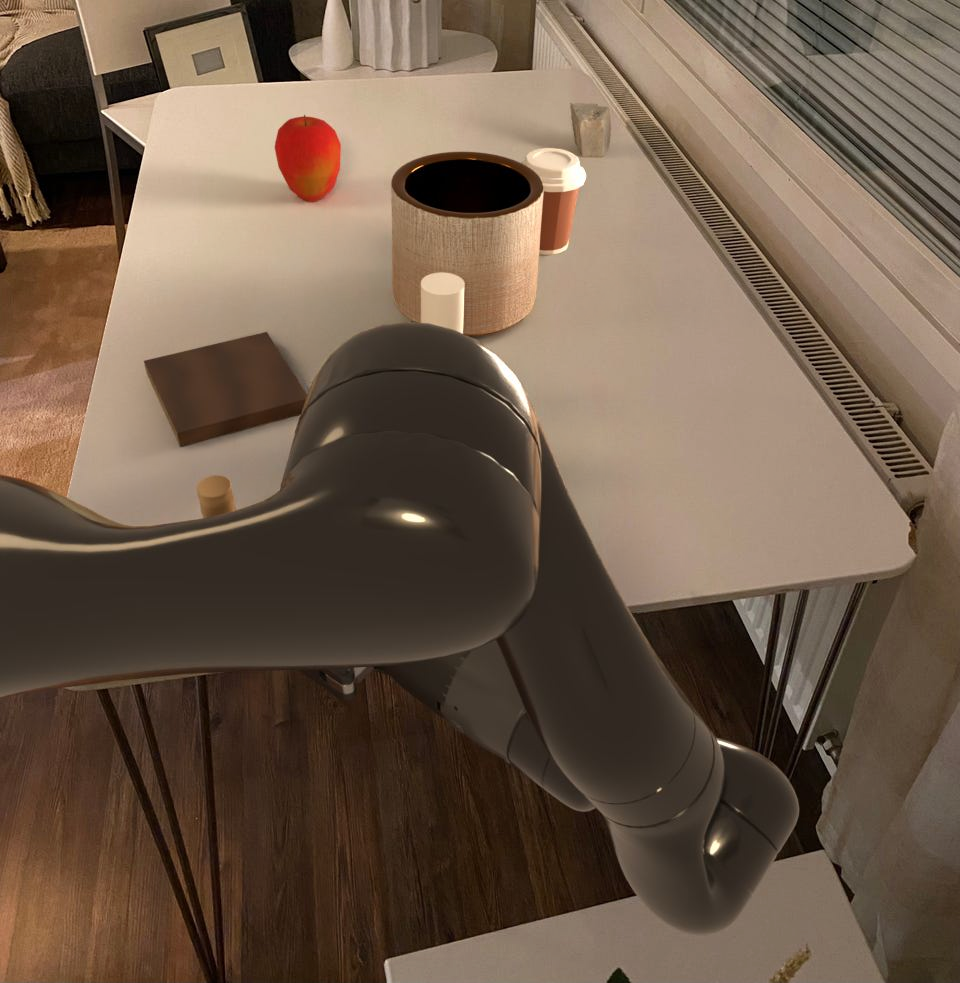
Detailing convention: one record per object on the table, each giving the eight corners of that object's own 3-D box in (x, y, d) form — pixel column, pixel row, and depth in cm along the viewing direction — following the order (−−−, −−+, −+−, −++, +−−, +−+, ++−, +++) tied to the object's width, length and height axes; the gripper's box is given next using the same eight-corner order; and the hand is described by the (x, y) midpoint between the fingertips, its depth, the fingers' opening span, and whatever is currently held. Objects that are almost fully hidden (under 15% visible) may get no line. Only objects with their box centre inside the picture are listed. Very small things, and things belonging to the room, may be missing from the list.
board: (180, 447, 98) (177, 433, 97) (146, 373, 107) (143, 360, 106) (311, 411, 103) (309, 397, 102) (268, 344, 112) (266, 331, 111)
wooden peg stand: (216, 626, 81) (191, 514, 72) (200, 588, 84) (174, 476, 75) (271, 607, 83) (253, 495, 74) (254, 570, 86) (234, 459, 77)
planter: (436, 356, 112) (437, 231, 101) (368, 285, 123) (363, 166, 112) (562, 318, 119) (576, 197, 108) (488, 254, 130) (493, 139, 119)
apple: (356, 197, 141) (352, 115, 133) (308, 217, 136) (300, 132, 128) (315, 177, 145) (309, 96, 137) (267, 195, 140) (257, 112, 132)
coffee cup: (588, 238, 134) (598, 153, 126) (561, 266, 128) (570, 179, 120) (528, 222, 137) (535, 138, 129) (500, 248, 131) (505, 163, 123)
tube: (447, 423, 102) (449, 299, 92) (413, 409, 104) (412, 286, 94) (468, 402, 105) (472, 280, 95) (435, 389, 107) (436, 268, 97)
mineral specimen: (554, 140, 157) (569, 90, 152) (604, 151, 159) (620, 102, 154) (562, 157, 152) (578, 106, 147) (613, 168, 154) (630, 118, 149)
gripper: (557, 575, 64) (381, 467, 71) (408, 712, 55) (227, 573, 63) (549, 647, 69) (385, 539, 76) (411, 782, 60) (243, 646, 68)
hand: (314, 555), depth 69 cm, fingers open, 8 cm apart
